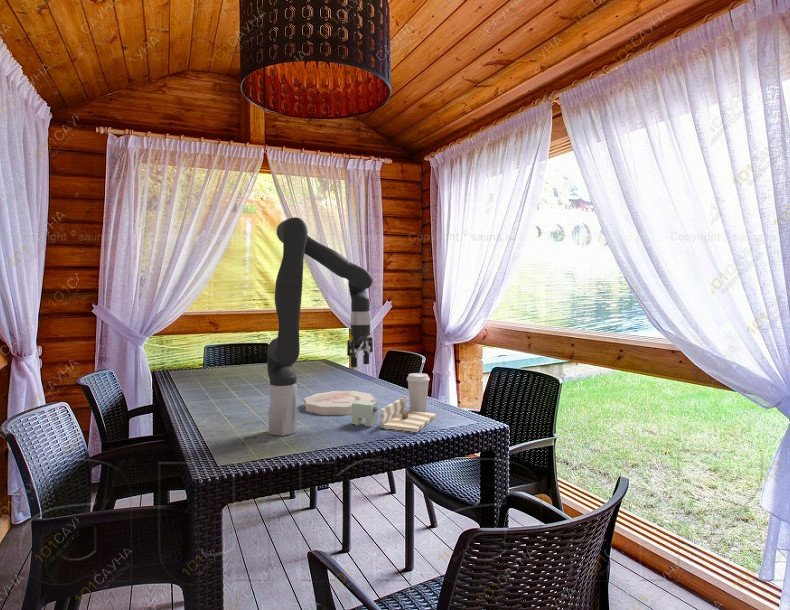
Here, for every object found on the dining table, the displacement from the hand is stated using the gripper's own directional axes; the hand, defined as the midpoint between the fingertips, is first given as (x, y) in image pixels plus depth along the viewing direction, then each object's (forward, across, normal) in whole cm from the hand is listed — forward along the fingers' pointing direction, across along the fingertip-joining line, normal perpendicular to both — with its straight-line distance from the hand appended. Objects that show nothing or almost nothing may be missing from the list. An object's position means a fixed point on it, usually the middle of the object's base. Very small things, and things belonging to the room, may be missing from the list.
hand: (360, 365), depth 188 cm
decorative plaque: (+22, +15, +20) cm, 33 cm away
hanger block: (+21, -3, -4) cm, 22 cm away
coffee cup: (+21, +24, -13) cm, 35 cm away
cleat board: (+21, +6, -18) cm, 28 cm away
